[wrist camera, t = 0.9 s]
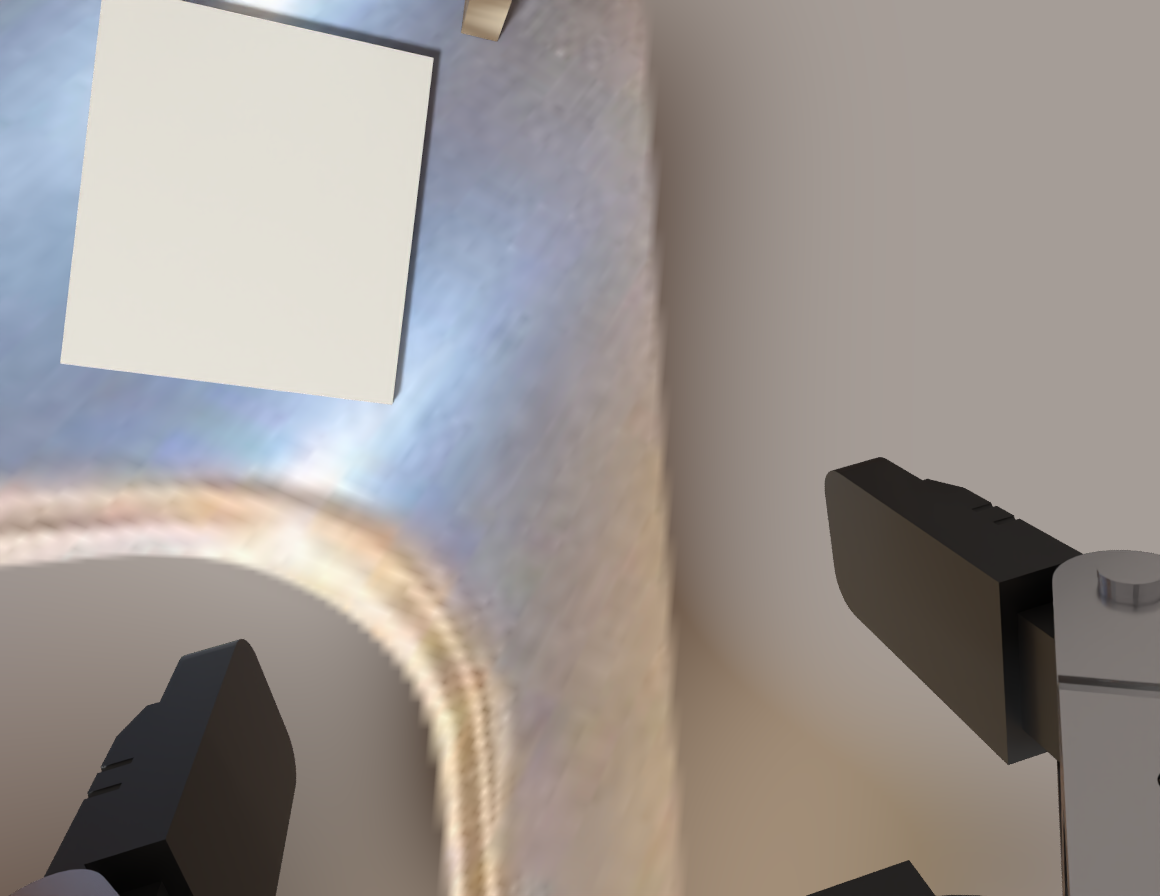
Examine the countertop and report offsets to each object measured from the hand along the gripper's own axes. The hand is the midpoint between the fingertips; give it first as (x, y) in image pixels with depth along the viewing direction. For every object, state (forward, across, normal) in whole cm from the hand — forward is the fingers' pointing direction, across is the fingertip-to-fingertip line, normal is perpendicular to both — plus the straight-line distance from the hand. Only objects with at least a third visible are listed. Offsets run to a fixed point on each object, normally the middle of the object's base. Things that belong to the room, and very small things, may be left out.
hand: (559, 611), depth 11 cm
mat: (+26, +6, -6) cm, 28 cm away
